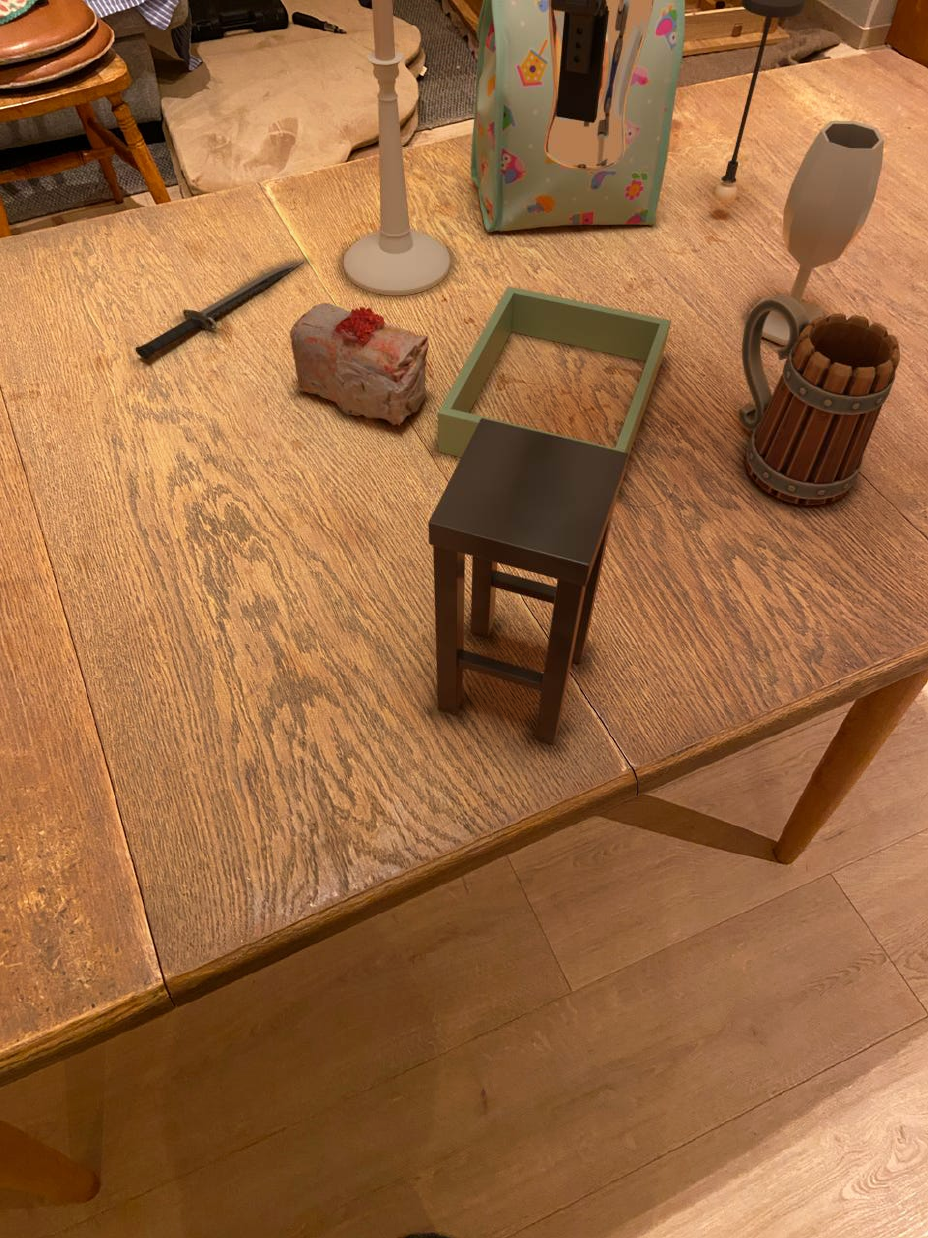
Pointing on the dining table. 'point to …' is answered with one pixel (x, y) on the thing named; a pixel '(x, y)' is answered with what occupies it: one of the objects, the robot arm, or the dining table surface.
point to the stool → (521, 552)
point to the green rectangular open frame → (561, 325)
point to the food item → (360, 362)
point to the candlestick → (393, 193)
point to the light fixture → (754, 81)
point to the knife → (212, 311)
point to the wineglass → (827, 206)
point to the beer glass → (606, 135)
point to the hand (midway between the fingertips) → (590, 93)
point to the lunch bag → (520, 112)
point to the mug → (814, 401)
